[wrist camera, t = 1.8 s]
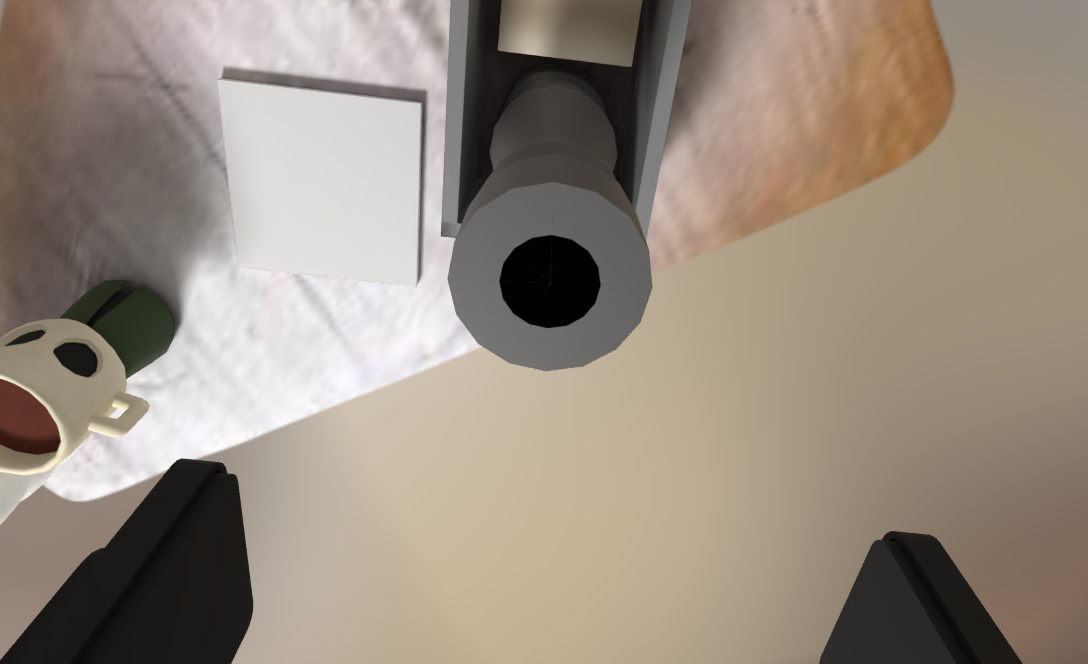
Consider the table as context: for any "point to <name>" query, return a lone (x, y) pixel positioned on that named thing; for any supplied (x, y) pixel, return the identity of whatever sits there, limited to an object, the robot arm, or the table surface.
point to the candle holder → (551, 232)
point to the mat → (323, 181)
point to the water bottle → (21, 487)
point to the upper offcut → (571, 29)
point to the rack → (645, 118)
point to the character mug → (76, 374)
